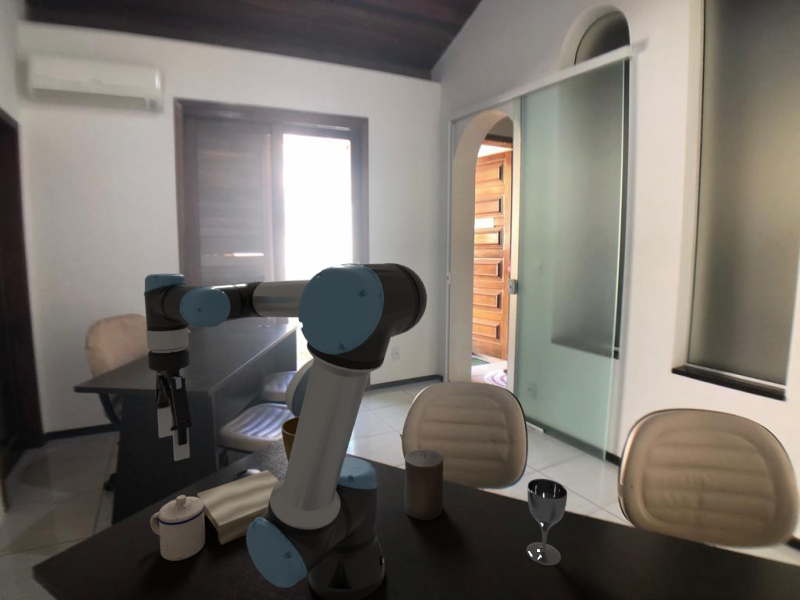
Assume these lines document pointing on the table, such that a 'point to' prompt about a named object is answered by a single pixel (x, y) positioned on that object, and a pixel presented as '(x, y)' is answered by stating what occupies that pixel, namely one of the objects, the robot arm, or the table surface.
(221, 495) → the birch shelf
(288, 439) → the plant pot
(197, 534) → the teacup with lid
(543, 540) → the wine glass
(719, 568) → the table surface
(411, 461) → the pillar candle
